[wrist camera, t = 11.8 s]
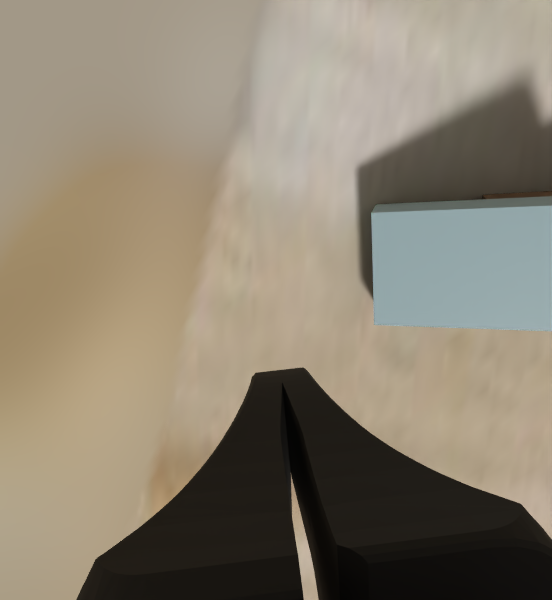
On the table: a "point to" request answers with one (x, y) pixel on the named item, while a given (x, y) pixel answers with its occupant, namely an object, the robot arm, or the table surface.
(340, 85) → the table surface
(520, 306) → the teal domino
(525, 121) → the table surface
